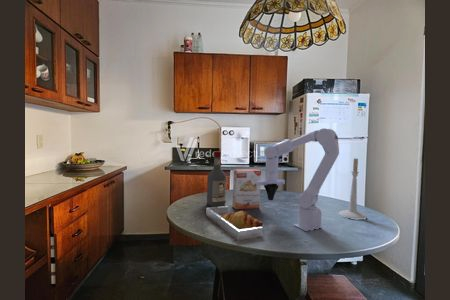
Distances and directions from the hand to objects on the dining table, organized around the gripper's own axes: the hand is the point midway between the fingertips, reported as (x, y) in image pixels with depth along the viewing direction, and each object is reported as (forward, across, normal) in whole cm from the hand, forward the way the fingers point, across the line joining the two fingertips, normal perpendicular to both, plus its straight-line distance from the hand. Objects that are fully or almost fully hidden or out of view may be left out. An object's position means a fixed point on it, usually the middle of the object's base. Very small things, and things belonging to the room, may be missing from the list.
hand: (270, 199), depth 125 cm
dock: (+9, +21, 0) cm, 23 cm away
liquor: (+10, +14, -32) cm, 36 cm away
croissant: (+10, +18, +2) cm, 20 cm away
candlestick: (+10, -43, +11) cm, 45 cm away
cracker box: (+10, +1, -21) cm, 23 cm away
